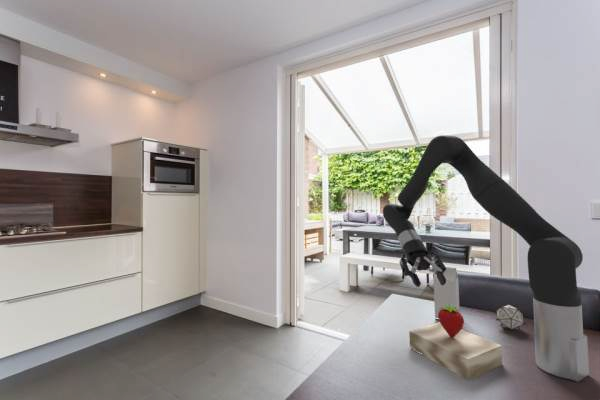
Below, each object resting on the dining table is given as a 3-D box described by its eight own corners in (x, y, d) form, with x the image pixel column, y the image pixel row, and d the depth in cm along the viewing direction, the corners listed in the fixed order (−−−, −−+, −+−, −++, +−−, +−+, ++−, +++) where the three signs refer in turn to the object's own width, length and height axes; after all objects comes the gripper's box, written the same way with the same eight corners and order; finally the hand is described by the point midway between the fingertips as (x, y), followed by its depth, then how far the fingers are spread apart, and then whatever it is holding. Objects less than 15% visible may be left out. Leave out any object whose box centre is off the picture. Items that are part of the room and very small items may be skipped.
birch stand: (502, 364, 75) (501, 345, 75) (468, 380, 69) (467, 359, 69) (441, 337, 91) (441, 321, 91) (409, 347, 85) (409, 331, 85)
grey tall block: (456, 323, 101) (454, 269, 101) (434, 319, 105) (432, 267, 106) (459, 317, 107) (457, 266, 107) (439, 313, 111) (437, 264, 111)
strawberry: (450, 344, 76) (449, 307, 76) (433, 332, 84) (432, 298, 84) (470, 342, 77) (469, 305, 77) (452, 330, 84) (450, 296, 85)
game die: (518, 341, 95) (539, 323, 90) (493, 332, 95) (513, 314, 90) (506, 318, 102) (525, 301, 97) (484, 310, 103) (501, 292, 97)
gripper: (396, 239, 101) (414, 279, 89) (434, 237, 102) (457, 277, 91) (390, 252, 106) (407, 292, 94) (426, 250, 107) (447, 289, 96)
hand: (431, 284), depth 92 cm, fingers open, 8 cm apart
